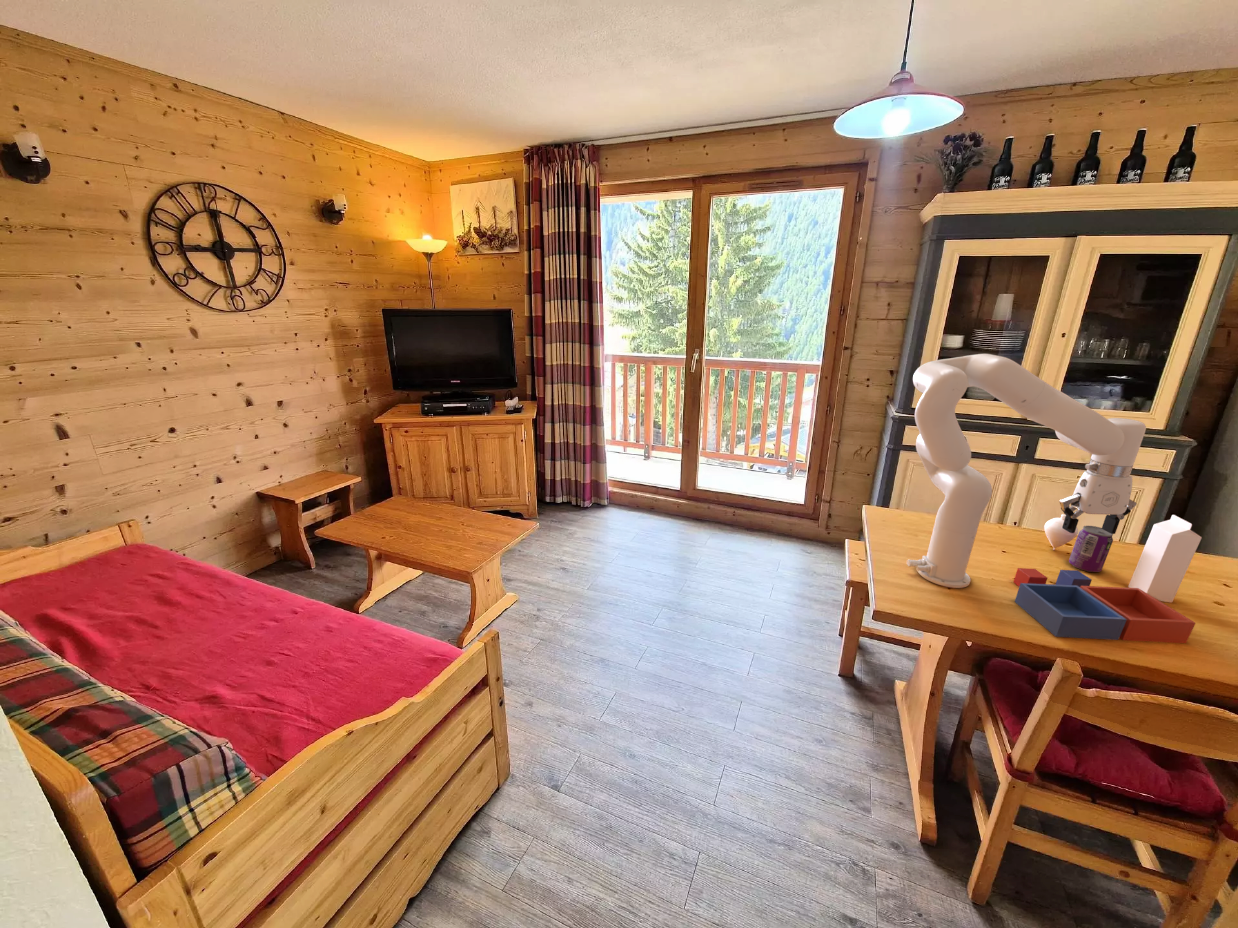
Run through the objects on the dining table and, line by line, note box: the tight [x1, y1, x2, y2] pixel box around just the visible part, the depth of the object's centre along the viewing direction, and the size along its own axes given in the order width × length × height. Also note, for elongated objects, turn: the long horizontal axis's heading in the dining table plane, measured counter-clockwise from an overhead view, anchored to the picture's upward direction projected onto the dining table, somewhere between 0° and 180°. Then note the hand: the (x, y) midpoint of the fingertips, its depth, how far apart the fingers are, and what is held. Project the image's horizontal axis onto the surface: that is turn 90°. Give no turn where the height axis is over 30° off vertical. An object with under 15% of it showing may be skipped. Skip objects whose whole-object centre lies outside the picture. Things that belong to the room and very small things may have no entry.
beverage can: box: [1068, 525, 1114, 573], centre depth 138 cm, size 7×7×12 cm
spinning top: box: [1043, 513, 1079, 551], centre depth 148 cm, size 8×8×12 cm
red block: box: [1013, 567, 1048, 587], centre depth 130 cm, size 4×4×4 cm
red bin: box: [1080, 585, 1196, 644], centre depth 115 cm, size 14×14×6 cm
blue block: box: [1055, 569, 1092, 587], centre depth 129 cm, size 4×4×4 cm
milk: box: [1127, 514, 1202, 603], centre depth 124 cm, size 6×6×22 cm
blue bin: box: [1014, 583, 1127, 641], centre depth 116 cm, size 14×14×6 cm
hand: (1088, 531), depth 125 cm, fingers open, 9 cm apart
